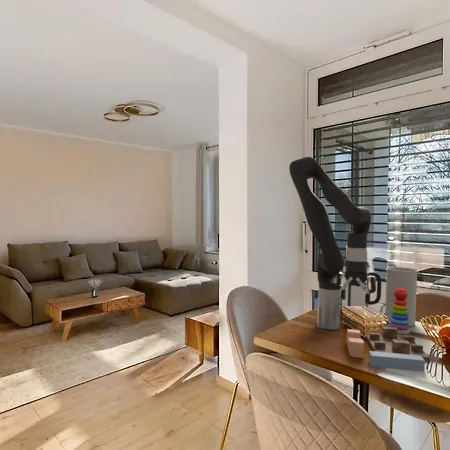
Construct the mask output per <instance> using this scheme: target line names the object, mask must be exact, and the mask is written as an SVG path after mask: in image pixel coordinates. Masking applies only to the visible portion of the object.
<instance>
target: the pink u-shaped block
mask: <svg viewBox="0 0 450 450" xmlns="http://www.w3.org/2000/svg"><path fill="white" fill-rule="evenodd" d="M361 334H362V333H361V331H360V329H350V328H346V346H347V351H348V354H350V355H349V357H350V356H352V358H361V359H364V357H365V356H364V355H365V341H364V339H362V338H361Z"/></svg>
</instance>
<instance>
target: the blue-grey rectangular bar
mask: <svg viewBox="0 0 450 450" xmlns="http://www.w3.org/2000/svg"><path fill="white" fill-rule="evenodd" d="M368 363H369V365H370V367H372V368H379V369H380V368H381V369H390V370H398V371H399V370H400V371H410V372H413V371H414V372H421V373H425V369H426V366H425V365H426V361H425V360H424V359H423V358H422V357H421V356H419V355H408V354H397V353H386V352H375V351H373V350H369V352H368Z"/></svg>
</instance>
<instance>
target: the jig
mask: <svg viewBox="0 0 450 450" xmlns="http://www.w3.org/2000/svg"><path fill="white" fill-rule="evenodd" d="M368 334H369V335H366V337H365V339H366V341H367V342H368V345H369V347H370V348H371V351H375V352H386V353H397V354H408V355H419V356H421V357H422V358H423V359H424V360H425V362H430V356H429V354H427V353H426V352H425V350H424V345H423V344H418V343H417V342H416V339H415V336H414V335H407V334H406V335H403V336H400V335H399V334H398V329H397V328H396V327H390V326H384V325H382V326H381V334H380V333H377V332H369V333H368Z"/></svg>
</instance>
